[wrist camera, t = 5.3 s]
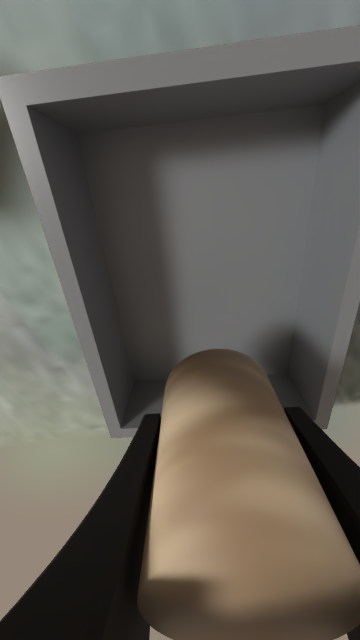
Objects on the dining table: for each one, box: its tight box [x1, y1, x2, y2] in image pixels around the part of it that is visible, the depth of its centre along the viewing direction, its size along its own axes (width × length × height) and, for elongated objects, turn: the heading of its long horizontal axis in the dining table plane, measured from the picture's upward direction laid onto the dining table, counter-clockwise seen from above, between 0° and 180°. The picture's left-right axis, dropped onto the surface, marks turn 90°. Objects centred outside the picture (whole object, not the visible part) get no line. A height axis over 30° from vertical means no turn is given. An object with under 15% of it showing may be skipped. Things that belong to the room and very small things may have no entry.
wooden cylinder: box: [137, 349, 360, 640], centre depth 9 cm, size 5×5×7 cm
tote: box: [0, 25, 360, 438], centre depth 14 cm, size 14×18×5 cm
